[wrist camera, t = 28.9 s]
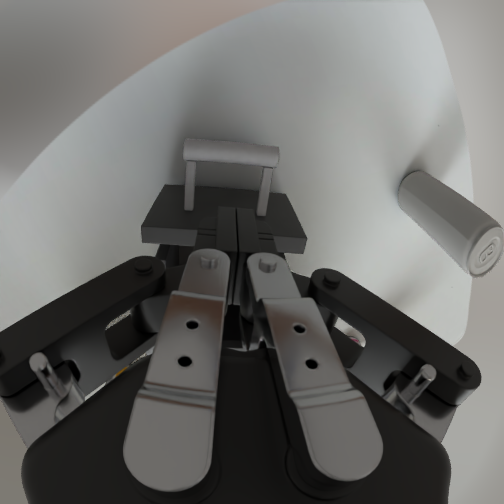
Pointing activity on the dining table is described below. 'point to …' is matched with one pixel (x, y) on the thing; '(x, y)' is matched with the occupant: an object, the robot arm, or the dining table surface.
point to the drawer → (206, 205)
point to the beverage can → (453, 223)
